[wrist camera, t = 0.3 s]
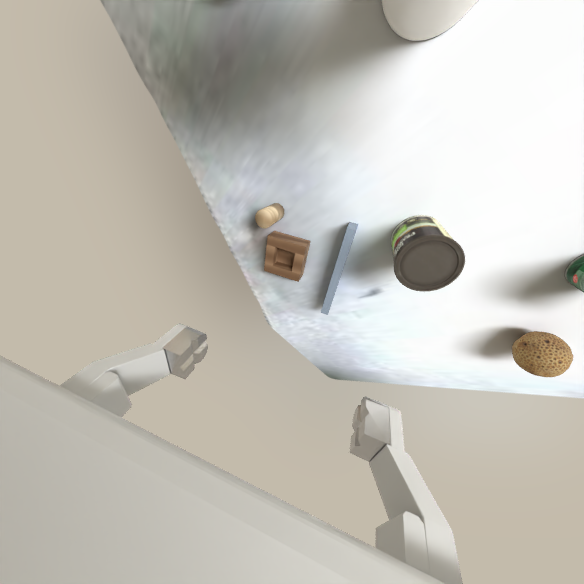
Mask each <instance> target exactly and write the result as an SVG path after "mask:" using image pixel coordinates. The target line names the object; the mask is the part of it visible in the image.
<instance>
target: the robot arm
mask: <svg viewBox="0 0 584 584" xmlns="http://www.w3.org/2000/svg"><path fill="white" fill-rule="evenodd" d="M381 1H382V6H383V11H384V14H385V17H386V20H387V22H388V24H389V25H390V27H391V28H392V29H393V31H394V32H395V33H397V34H398V35H399V36H401V37H403V38H405V39H408V40H412V41H422V40H427V39H430V38H433V37H436V36H438V35H440V34H442V33H443V32H445V31H447V30H448V29H450V28H451V27H452V26H454V25H455V24H456V23H457V22H458V21H459V20H460V19H462V18H463V17H464V16H465V15H466V13H467V12H468V11H469V10H470V9H471V8H472V7H473V6H474V5H475V3H476V2H477V1H478V0H381ZM206 339H207V336H206V334H204V333H202V332H200V331H197V330H195V329H192V328H190V327H188V326H185V325H183V324H177V325H175V326H174V327H173V328H172V329H170V330H169V331H168V332H167V333H166V334H164V335H163V336H162V337H161V338H160V339H158V340H157V341H156V342H155V343H154V344H147V345H144V346H141V347H137V348H134V349H131V350H128V351H125V352H122V353H119V354H116V355H113V356H110V357H106V358H103V359H100V360H97V361H94V362H92V363H90V364H89V365H88V366H87V367H85V368H84V369H82V370H81V371H79V372H78V373H77V374H75V375H74V376H72V377H71V378H70V379H68V380H67V381H66V382H64V383H63V384H61V385H60V386H59V385H57V384H55V383H53V382H51V381H49V380H47V379H45V378H43V377H41V376H39V375H37V374H35V373H33V372H31V371H29V370H27V369H25V368H23V367H21V366H20V365H18V364H16V363H14V362H12V361H10V360H8V359H6V358H4V357H2V356H0V584H463V583H462V578H461V573H460V568H459V563H458V558H457V552H456V547H455V542H454V537H453V532H452V530H451V528H450V527H449V525H448V523H447V521H446V519H445V518H444V516H443V514H442V512H441V511H440V509H439V507H438V505H437V503H436V502H435V500H434V498H433V496H432V494H431V493H430V491H429V489H428V487H427V486H426V484H425V482H424V480H423V479H422V477H421V475H420V473H419V472H418V470H417V468H416V466H415V464H414V463H413V461H412V459H411V457H410V455H409V454H408V453H406V452H405V450H404V439H403V429H402V417H401V412H400V410H398V409H396V408H393V407H390V406H387V405H386V404H383V403H381V402H378V401H376V400H373V399H370V398H367V397H363V399H362V401H361V405H359V406H358V407H357V409H356V411H355V414H354V417H353V424H352V426H353V429H354V431H355V432H354V433H353V435H352V436H351V445H350V453H352V454H354V455H356V456H358V457H360V458H362V459H364V460H367V461H369V465H370V467H371V470H372V473H373V476H374V478H375V481H376V484H377V487H378V490H379V492H380V495H381V498H382V500H383V503H384V506H385V509H386V512H387V515H388V518H389V521H387V522H386V523H384V524H382V525H380V526H379V527H377V528H376V548H375V547H373V546H371V545H369V544H367V543H365V542H363V541H361V540H359V539H357V538H355V537H353V536H351V535H349V534H348V533H346V532H344V531H342V530H340V529H338V528H336V527H334V526H332V525H330V524H328V523H326V522H324V521H322V520H320V519H318V518H316V517H314V516H312V515H310V514H309V513H307V512H305V511H303V510H301V509H299V508H297V507H295V506H293V505H291V504H289V503H287V502H285V501H283V500H281V499H279V498H277V497H275V496H273V495H271V494H269V493H268V492H265V491H264V490H262V489H260V488H258V487H256V486H254V485H252V484H250V483H248V482H246V481H244V480H242V479H240V478H238V477H236V476H234V475H232V474H230V473H228V472H227V471H225V470H223V469H221V468H219V467H217V466H214V465H213V464H211V463H209V462H207V461H205V460H203V459H201V458H199V457H197V456H195V455H193V454H191V453H189V452H187V451H186V450H183V449H182V448H180V447H178V446H176V445H174V444H172V443H170V442H168V441H166V440H164V439H162V438H160V437H158V436H156V435H154V434H152V433H150V432H148V431H146V430H145V429H143V428H141V427H139V426H137V425H135V424H133V423H131V422H129V421H127V420H125V419H123V418H121V417H122V416H123V415H124V414H125V413H126V412H127V411H128V410H129V409H130V408H131V405H132V404H131V401H130V399H129V397H128V396H129V395H131V394H133V393H135V392H137V391H139V390H141V389H143V388H145V387H147V386H149V385H150V384H152V383H154V382H156V381H158V380H160V379H162V378H164V377H166V376H168V375H169V374H170V373H171V374H173V375H176V376H178V377H181V378H183V379H186V378H187V377H188V375H189V374H190V373H191V372H192V371H193V370H194V366H195V364H196V363H199V362H200V361H201V360H202V359H203V358H204V356H205V355H206V353H207V349H208V346H207V344H206V342H205V340H206Z"/></svg>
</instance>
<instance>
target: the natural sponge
mask: <svg viewBox="0 0 584 584" xmlns="http://www.w3.org/2000/svg"><path fill="white" fill-rule="evenodd" d="M512 354H513V358H514V360H515V362H516V363H517V364H518V365H519V366H520V367H521V368H522V369H524V370H525V371H527V372H529V373H531V374H534V375H537V376H542V377H555V376H558V375H561V374H563V373H564V372H565V371H566V370H567V369H568V368H569V366H570V364H571V362H572V360H573V355H572V352H571V349H570V347H569V346H568V345H567V344H566V343H565V342H564V341H563V340H562V339H561V338H559V337H557V336H556V335H553V334H550V333H546V332H537V331H534V332H529V333H527V334H525V335H523V336H522V337H521V338H519V339H517V340H516V341H515V342H514V344H513V346H512Z"/></svg>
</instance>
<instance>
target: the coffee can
mask: <svg viewBox="0 0 584 584" xmlns="http://www.w3.org/2000/svg"><path fill="white" fill-rule="evenodd" d="M391 246H392V251H393V258H394V272H395V275H396V277H397V279H398V280H399V281H400V283H402V284H403V285H404V286H406V287H407V288H409V289H412V290H416V291H433V290H437V289H440V288H443V287H445V286H447V285H449V284H450V283H452V282H453V281H454V280H455V279H456V278H457V277H458V276H459V275H460V273H461V272H462V270H463V267H464V264H465V255H464V252H463V250H462V248H461V246H460V245H459V244H458V243H457V242H456V241H454V240H453V239H452V237H451V236H450V235H449V234H448V233H447V232H446V230H445V229H444V228H443V227H442V225H441V223H440V222H439V221H438V220H436V219H435V218H433V217H430V216H425V215H418V216H413V217H410V218H408V219H406V220H404V221H403V222H401V223H400V224H399V225H398V226H397V227H396V229H395V230H394V232H393V234H392V238H391Z"/></svg>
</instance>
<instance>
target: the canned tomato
mask: <svg viewBox="0 0 584 584" xmlns="http://www.w3.org/2000/svg"><path fill="white" fill-rule="evenodd" d="M565 278H566V280H567V281H568V282H569V283H570V284H572V285H574V286H575V287H577V288H578V289H580V290H581V291H583V292H584V254H583V255H581V256H579V257H578V258H576V259H575V260H574V261H572V262H571V263H570V264H569V266H568V267H567V268H566V271H565Z"/></svg>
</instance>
